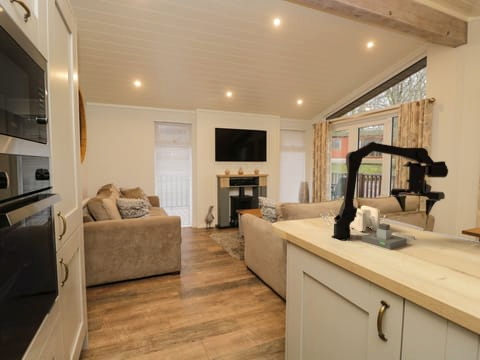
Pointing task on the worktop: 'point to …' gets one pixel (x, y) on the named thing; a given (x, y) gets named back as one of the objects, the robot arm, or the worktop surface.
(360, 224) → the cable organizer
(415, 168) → the robot arm
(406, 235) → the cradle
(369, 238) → the socket plate
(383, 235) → the plug
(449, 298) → the worktop surface
